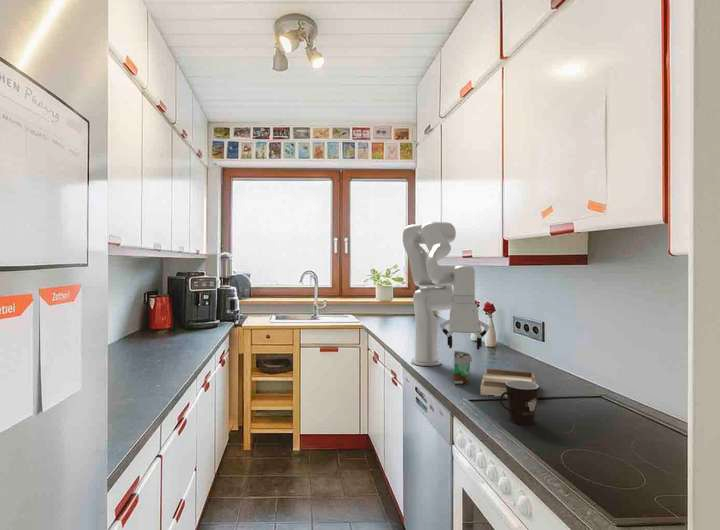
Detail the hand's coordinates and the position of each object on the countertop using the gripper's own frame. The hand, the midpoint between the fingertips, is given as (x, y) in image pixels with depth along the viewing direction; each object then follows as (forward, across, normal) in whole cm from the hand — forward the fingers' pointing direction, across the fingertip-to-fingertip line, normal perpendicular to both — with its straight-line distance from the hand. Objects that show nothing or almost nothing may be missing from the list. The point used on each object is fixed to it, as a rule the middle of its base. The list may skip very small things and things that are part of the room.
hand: (464, 348), depth 161 cm
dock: (+13, +15, -3) cm, 20 cm away
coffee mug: (+14, +17, -33) cm, 40 cm away
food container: (+13, -1, +1) cm, 13 cm away
